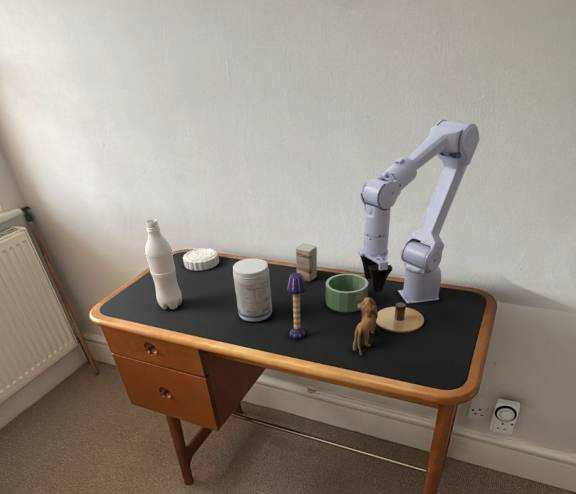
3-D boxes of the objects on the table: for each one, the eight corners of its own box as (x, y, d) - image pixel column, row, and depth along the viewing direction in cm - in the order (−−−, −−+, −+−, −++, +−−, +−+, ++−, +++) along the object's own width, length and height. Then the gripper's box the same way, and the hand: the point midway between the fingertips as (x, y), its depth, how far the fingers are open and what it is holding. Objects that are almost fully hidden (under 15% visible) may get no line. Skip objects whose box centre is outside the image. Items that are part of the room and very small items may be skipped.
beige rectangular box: (296, 278, 146) (294, 248, 140) (303, 273, 149) (302, 243, 142) (310, 282, 143) (309, 251, 137) (317, 276, 146) (317, 246, 140)
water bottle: (188, 304, 136) (170, 219, 121) (168, 314, 132) (147, 227, 117) (174, 297, 140) (154, 214, 125) (154, 306, 136) (131, 222, 121)
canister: (360, 291, 137) (361, 271, 133) (372, 310, 128) (373, 289, 124) (322, 296, 136) (322, 276, 132) (330, 316, 127) (330, 295, 123)
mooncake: (179, 270, 155) (177, 260, 153) (191, 256, 164) (189, 246, 162) (213, 271, 153) (212, 261, 151) (223, 256, 163) (222, 246, 160)
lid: (413, 307, 128) (415, 290, 125) (431, 331, 118) (433, 313, 115) (369, 313, 127) (370, 296, 124) (383, 337, 117) (384, 320, 114)
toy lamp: (292, 328, 123) (289, 269, 112) (309, 330, 122) (307, 271, 111) (287, 338, 119) (283, 278, 109) (304, 340, 118) (302, 280, 108)
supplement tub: (240, 306, 134) (233, 258, 125) (273, 305, 133) (269, 256, 124) (237, 324, 126) (230, 274, 117) (272, 322, 126) (267, 272, 117)
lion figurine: (356, 324, 123) (358, 294, 117) (377, 326, 122) (379, 295, 116) (350, 356, 112) (352, 324, 106) (373, 358, 110) (375, 325, 105)
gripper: (352, 224, 116) (351, 274, 125) (368, 246, 105) (365, 299, 113) (380, 221, 117) (376, 271, 125) (398, 242, 105) (393, 296, 114)
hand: (373, 284), depth 119 cm, fingers open, 7 cm apart
